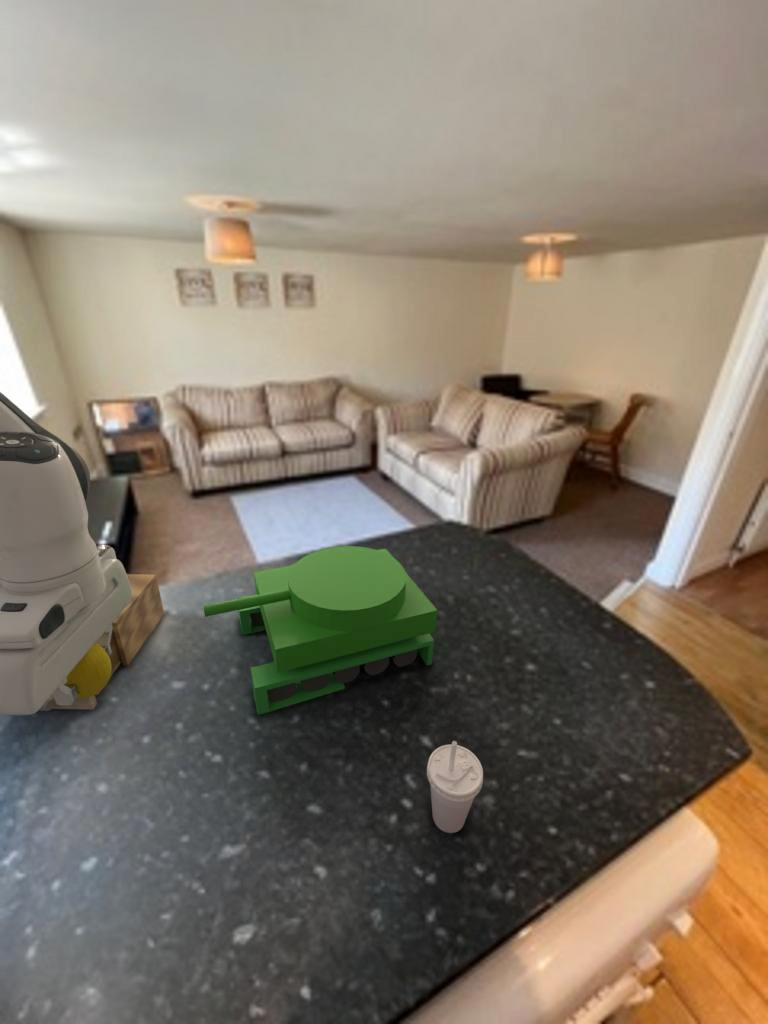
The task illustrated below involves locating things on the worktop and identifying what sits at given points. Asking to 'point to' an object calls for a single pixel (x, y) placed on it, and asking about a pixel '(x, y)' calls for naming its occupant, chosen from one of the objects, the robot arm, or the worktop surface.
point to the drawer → (91, 701)
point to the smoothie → (453, 785)
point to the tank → (332, 622)
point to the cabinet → (138, 616)
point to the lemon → (91, 672)
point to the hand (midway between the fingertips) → (86, 678)
